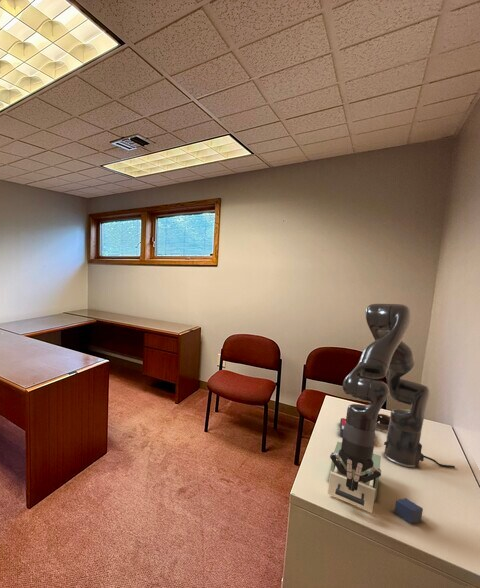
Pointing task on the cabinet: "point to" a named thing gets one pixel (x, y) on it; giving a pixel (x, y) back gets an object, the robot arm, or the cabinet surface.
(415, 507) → the block
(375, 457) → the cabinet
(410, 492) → the cabinet surface
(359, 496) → the drawer
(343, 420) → the red and grey box
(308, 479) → the cabinet surface
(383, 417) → the pottery mug
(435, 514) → the cabinet surface
